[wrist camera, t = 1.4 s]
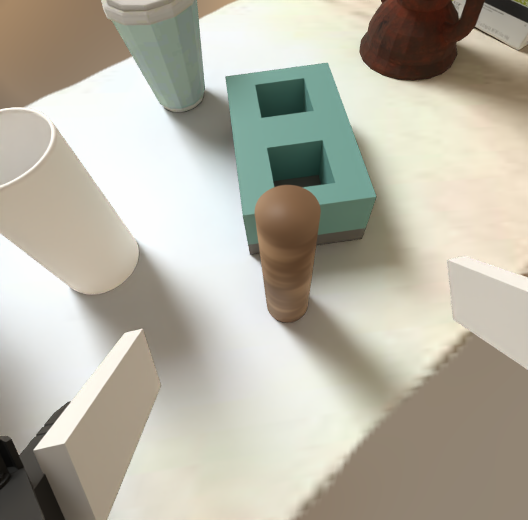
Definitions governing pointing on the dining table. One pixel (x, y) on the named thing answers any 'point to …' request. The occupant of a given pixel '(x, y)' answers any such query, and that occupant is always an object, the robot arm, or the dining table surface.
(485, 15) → the tea box
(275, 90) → the socket block
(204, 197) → the dining table surface
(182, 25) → the disposable coffee cup
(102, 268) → the cup
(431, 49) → the lantern
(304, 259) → the walnut pin
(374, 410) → the dining table surface
